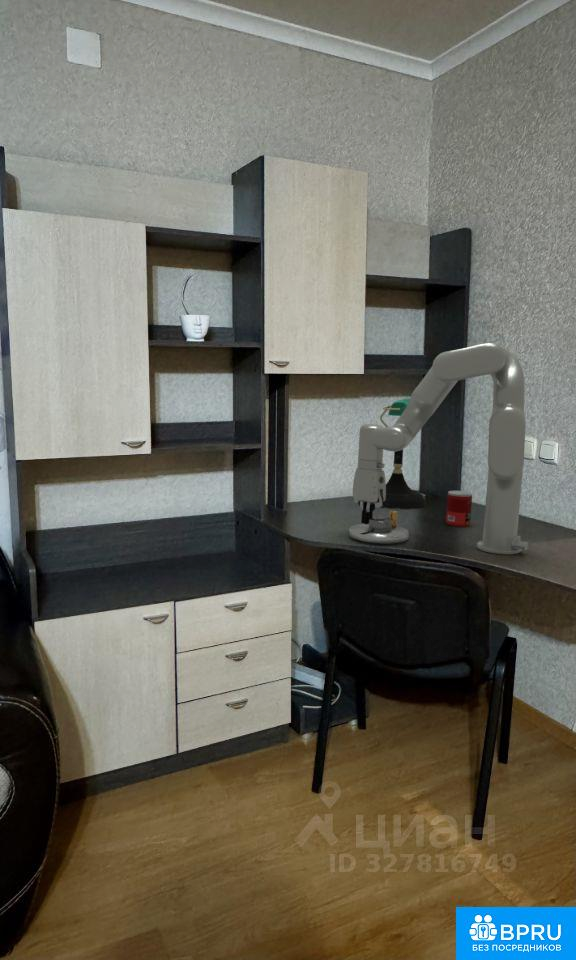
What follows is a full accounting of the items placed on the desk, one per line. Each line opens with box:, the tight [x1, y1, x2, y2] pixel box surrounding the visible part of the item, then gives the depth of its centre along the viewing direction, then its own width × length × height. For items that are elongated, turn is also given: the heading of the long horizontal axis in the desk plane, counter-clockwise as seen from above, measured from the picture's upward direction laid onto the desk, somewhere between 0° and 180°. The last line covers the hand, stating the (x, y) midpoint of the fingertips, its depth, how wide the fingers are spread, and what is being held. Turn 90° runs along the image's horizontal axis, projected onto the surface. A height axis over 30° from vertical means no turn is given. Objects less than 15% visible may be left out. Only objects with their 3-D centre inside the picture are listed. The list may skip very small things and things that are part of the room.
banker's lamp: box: [379, 397, 427, 510], centre depth 266 cm, size 26×23×40 cm
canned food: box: [445, 490, 473, 528], centre depth 234 cm, size 8×8×11 cm
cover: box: [368, 514, 392, 534], centre depth 212 cm, size 7×7×4 cm
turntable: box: [348, 510, 409, 544], centre depth 212 cm, size 18×18×7 cm
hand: (366, 523), depth 216 cm, fingers closed
